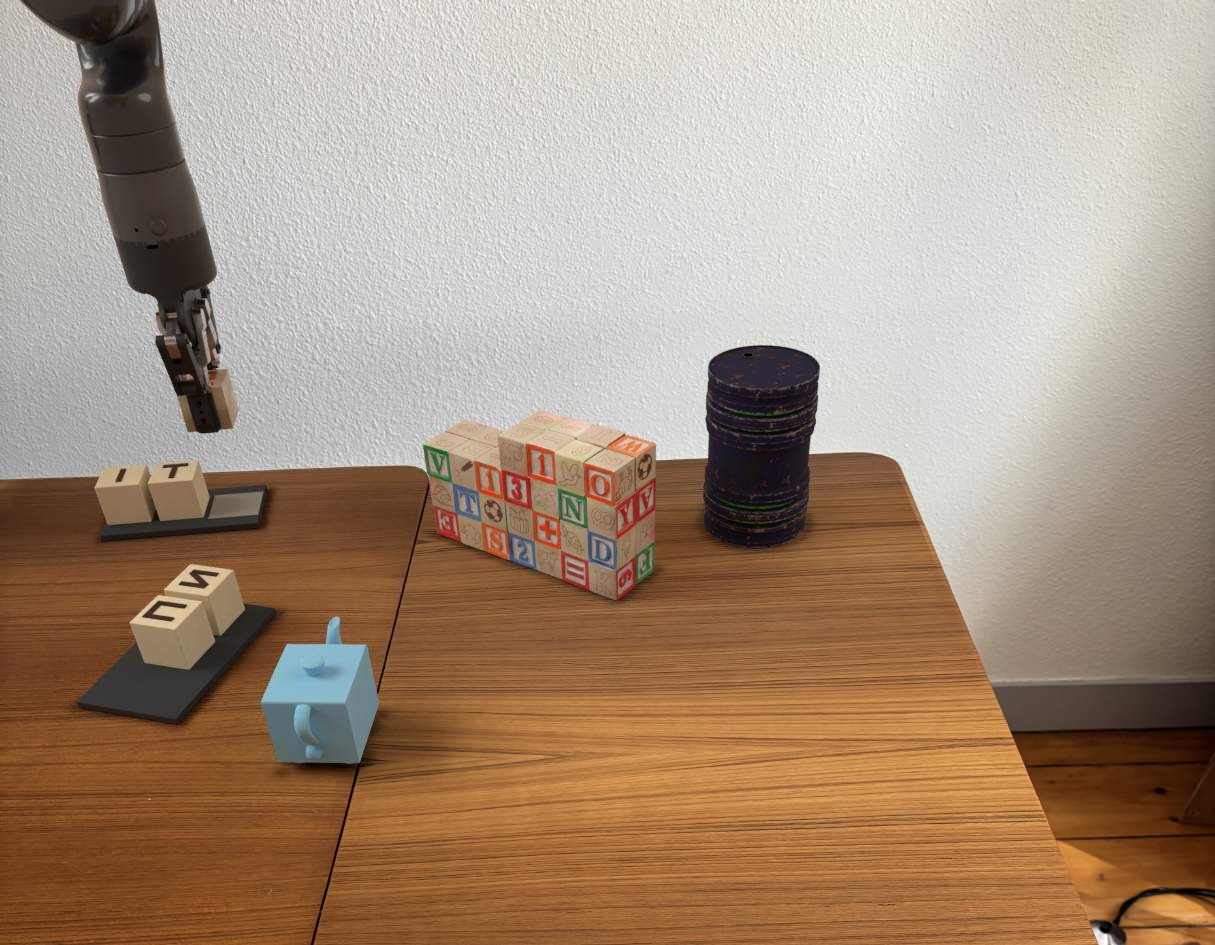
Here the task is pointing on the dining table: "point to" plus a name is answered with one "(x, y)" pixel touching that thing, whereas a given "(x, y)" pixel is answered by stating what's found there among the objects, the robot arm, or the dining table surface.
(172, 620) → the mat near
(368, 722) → the teapot
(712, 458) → the storage jar
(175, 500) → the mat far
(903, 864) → the dining table surface
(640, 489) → the stack of blocks
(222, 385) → the tile
